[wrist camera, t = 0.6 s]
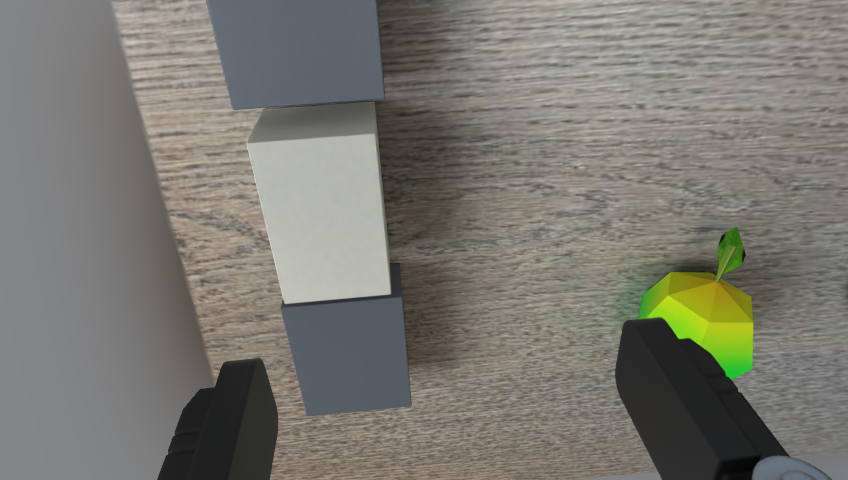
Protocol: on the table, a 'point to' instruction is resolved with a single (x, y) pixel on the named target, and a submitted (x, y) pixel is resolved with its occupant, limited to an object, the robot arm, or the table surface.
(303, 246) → the cream rectangular block
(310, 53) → the pair of grey blocks
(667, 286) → the apple
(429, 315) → the table surface
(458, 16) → the table surface
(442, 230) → the table surface
